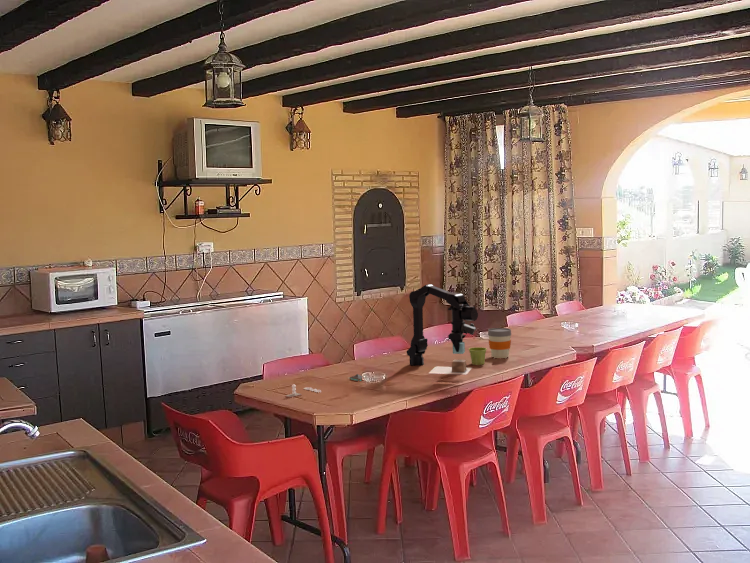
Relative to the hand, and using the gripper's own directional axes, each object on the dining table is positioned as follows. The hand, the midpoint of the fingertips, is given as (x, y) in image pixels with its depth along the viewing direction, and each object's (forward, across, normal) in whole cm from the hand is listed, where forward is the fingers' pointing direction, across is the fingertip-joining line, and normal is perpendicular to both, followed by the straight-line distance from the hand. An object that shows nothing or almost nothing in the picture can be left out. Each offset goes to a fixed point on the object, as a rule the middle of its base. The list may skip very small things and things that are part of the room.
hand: (458, 350), depth 376 cm
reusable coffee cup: (+11, +42, -14) cm, 46 cm away
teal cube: (+1, 0, 0) cm, 1 cm away
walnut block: (+10, 0, 0) cm, 10 cm away
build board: (+11, +1, +4) cm, 12 cm away
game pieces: (+12, -39, +56) cm, 70 cm away
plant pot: (+11, +19, -6) cm, 23 cm away
